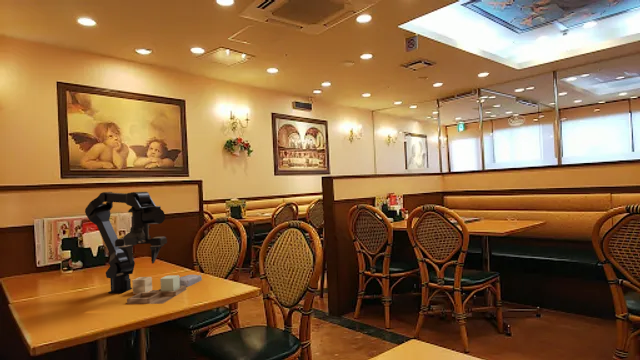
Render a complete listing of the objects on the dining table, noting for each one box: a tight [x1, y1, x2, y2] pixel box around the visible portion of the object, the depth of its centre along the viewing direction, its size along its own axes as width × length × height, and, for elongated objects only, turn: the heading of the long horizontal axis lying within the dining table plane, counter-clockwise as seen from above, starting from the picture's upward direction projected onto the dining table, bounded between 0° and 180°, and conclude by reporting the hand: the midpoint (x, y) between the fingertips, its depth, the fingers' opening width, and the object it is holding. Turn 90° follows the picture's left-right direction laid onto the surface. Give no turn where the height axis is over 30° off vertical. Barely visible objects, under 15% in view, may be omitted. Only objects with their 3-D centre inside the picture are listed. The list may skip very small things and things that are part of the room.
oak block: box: [131, 276, 153, 295], centre depth 152 cm, size 5×5×6 cm
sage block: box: [160, 274, 180, 291], centre depth 148 cm, size 5×5×6 cm
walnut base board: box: [125, 286, 187, 305], centre depth 144 cm, size 14×18×2 cm
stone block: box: [179, 274, 202, 288], centre depth 162 cm, size 12×5×10 cm
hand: (141, 263), depth 152 cm, fingers open, 9 cm apart
